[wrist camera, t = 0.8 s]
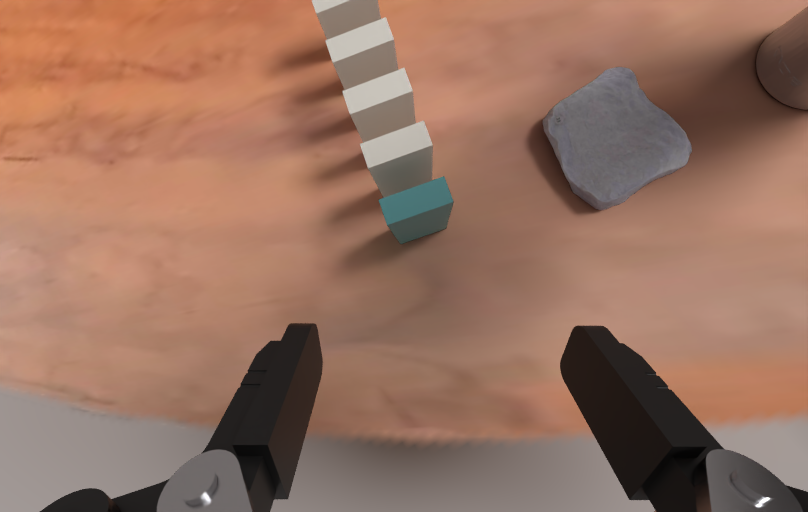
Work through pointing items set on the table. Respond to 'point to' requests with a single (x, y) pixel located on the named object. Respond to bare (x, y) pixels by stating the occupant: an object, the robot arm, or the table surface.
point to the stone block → (614, 139)
